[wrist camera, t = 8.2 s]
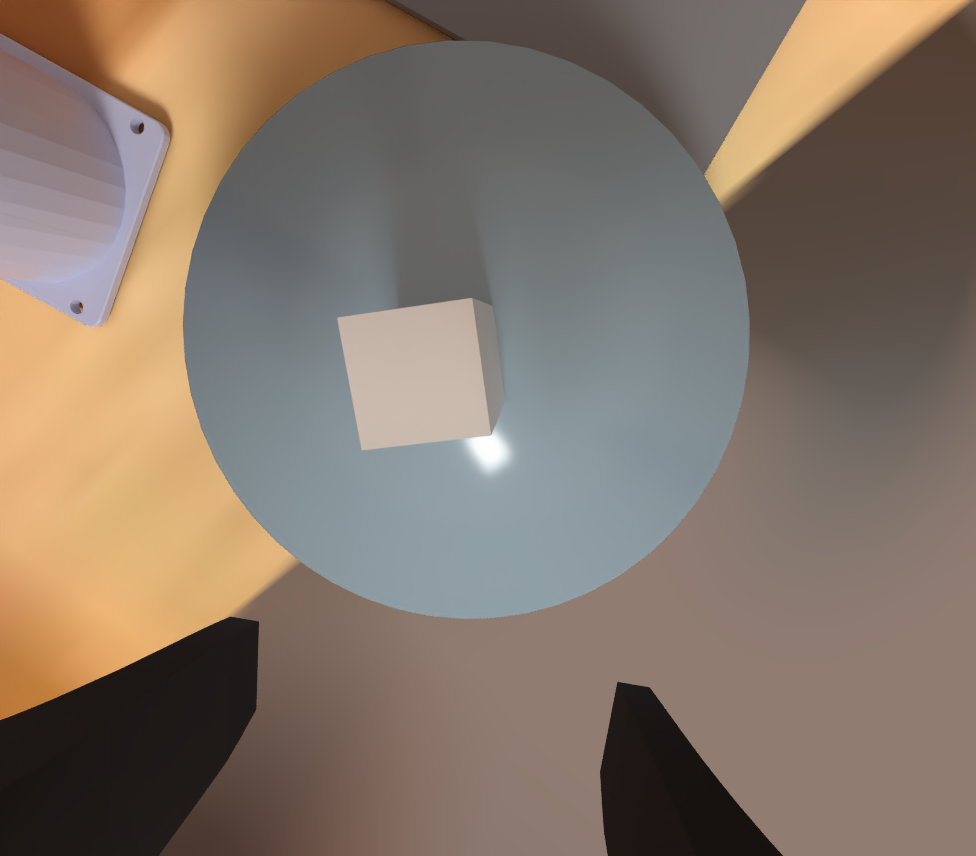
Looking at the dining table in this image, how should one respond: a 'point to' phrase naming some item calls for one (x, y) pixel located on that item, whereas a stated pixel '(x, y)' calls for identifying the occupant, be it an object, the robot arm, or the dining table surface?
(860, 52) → the dining table surface
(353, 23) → the dining table surface
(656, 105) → the mat
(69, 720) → the robot arm
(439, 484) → the lid
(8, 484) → the dining table surface
